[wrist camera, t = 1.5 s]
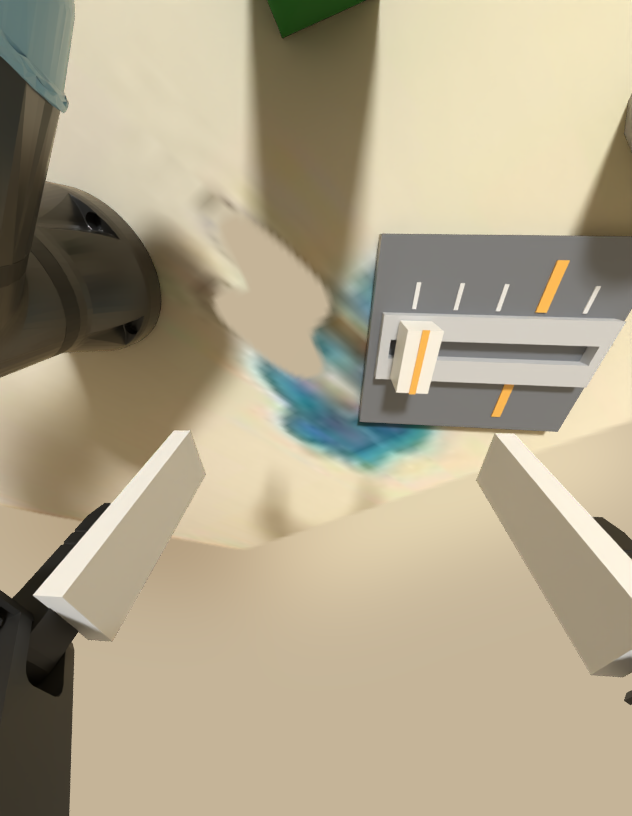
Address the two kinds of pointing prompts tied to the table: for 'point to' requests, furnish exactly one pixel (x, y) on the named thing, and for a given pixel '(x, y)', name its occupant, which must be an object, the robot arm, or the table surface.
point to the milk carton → (305, 12)
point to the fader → (415, 356)
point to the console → (496, 325)
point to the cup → (629, 124)
